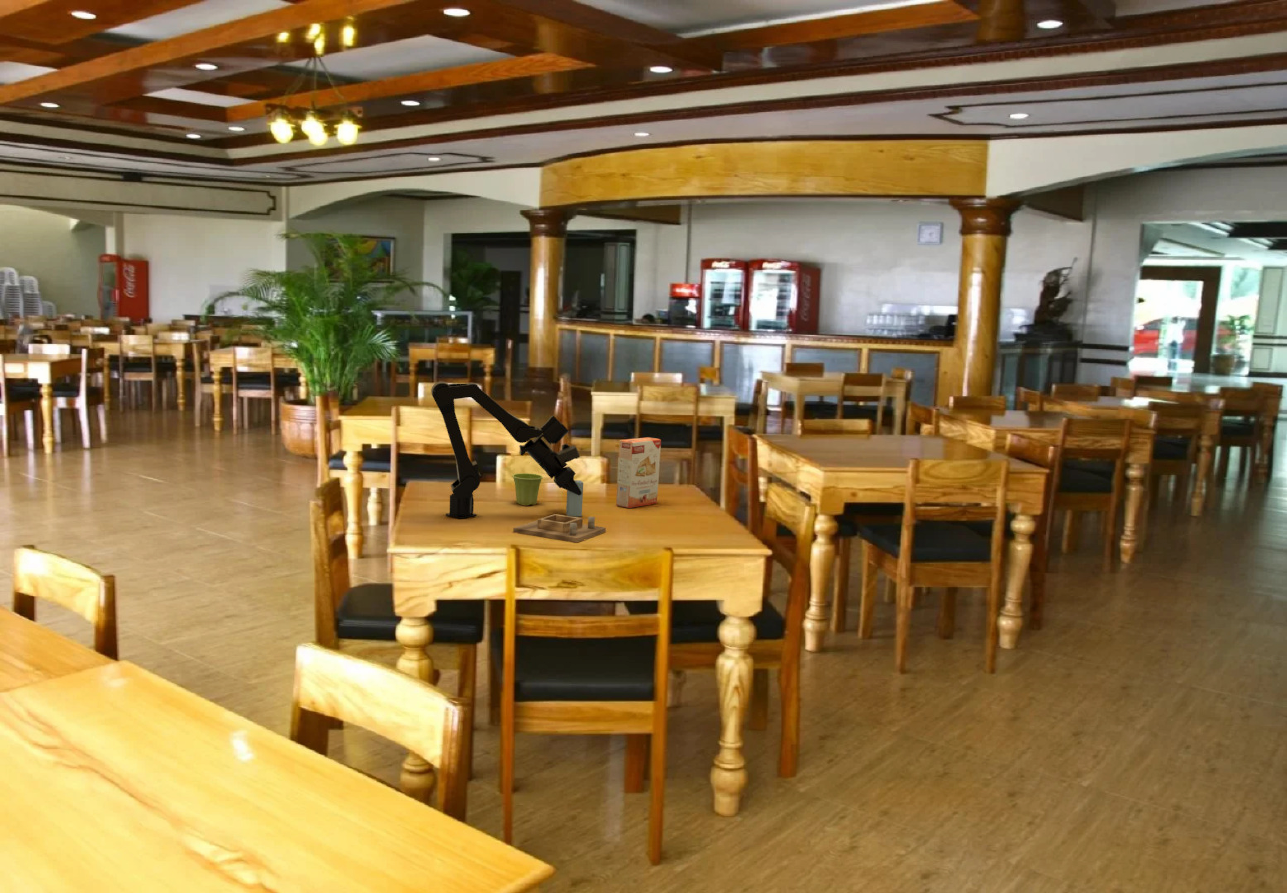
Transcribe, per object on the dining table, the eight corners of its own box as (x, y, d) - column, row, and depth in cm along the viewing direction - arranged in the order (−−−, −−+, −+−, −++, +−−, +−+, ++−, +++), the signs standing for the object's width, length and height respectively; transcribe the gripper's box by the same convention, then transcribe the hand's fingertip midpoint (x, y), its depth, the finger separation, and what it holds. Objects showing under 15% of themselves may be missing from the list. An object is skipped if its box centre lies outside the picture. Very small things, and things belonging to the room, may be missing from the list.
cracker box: (629, 509, 331) (632, 442, 328) (615, 506, 335) (618, 439, 332) (658, 503, 342) (662, 438, 339) (644, 500, 346) (647, 436, 343)
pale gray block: (568, 516, 316) (569, 482, 314) (566, 513, 319) (567, 480, 318) (581, 516, 317) (583, 482, 315) (579, 513, 320) (580, 480, 319)
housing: (513, 532, 293) (513, 517, 292) (543, 522, 307) (544, 507, 307) (577, 542, 284) (577, 527, 284) (605, 531, 299) (606, 517, 298)
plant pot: (544, 501, 337) (545, 474, 335) (538, 507, 327) (539, 479, 326) (515, 499, 338) (516, 472, 336) (508, 505, 328) (509, 477, 327)
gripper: (569, 441, 305) (605, 479, 309) (558, 432, 323) (593, 468, 327) (540, 468, 304) (577, 506, 308) (531, 457, 322) (566, 494, 326)
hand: (579, 492), depth 317 cm, fingers closed on pale gray block, 4 cm apart
